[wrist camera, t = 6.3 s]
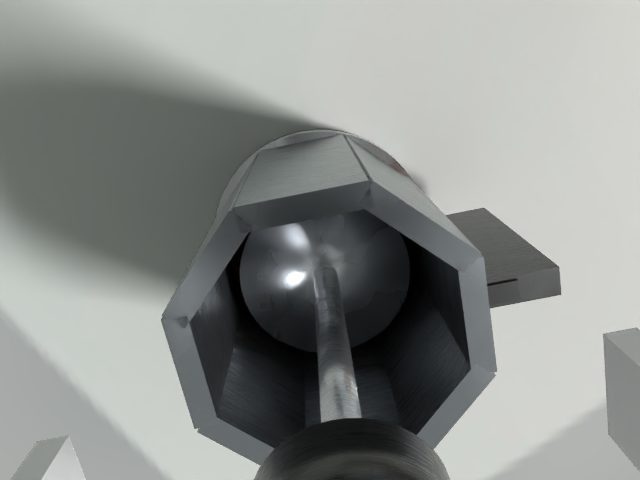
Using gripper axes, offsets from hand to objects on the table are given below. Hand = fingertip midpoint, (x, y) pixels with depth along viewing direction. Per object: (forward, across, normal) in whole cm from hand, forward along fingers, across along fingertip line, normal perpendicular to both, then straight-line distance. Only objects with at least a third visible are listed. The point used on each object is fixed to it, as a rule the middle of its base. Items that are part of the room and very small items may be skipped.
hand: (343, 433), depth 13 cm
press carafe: (+16, +1, 0) cm, 16 cm away
